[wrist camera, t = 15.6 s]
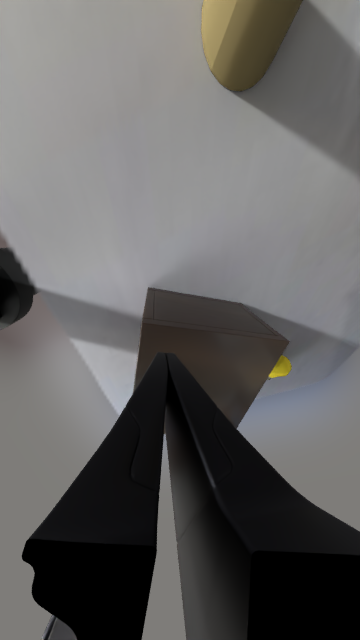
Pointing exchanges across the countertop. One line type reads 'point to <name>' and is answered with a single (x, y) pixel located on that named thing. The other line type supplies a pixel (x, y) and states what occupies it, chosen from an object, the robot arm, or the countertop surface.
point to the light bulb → (280, 368)
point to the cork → (244, 37)
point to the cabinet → (211, 346)
